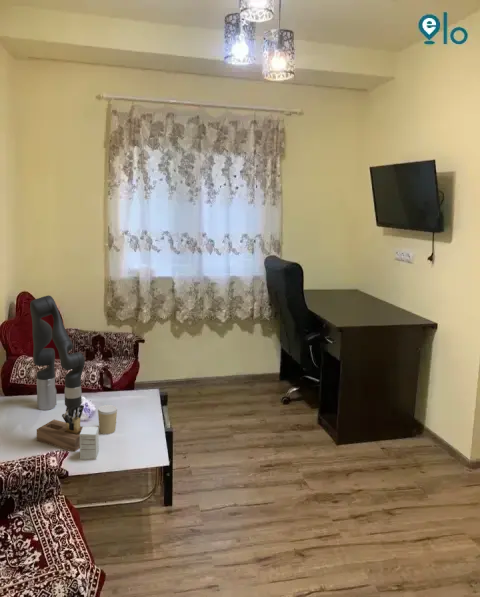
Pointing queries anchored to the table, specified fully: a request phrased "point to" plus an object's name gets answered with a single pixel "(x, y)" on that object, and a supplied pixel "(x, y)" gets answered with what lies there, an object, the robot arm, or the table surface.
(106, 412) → the coffee cup
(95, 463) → the table surface
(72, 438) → the two-slot wooden tray
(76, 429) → the yellow tan block
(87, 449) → the miniature drawer cabinet
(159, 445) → the table surface
